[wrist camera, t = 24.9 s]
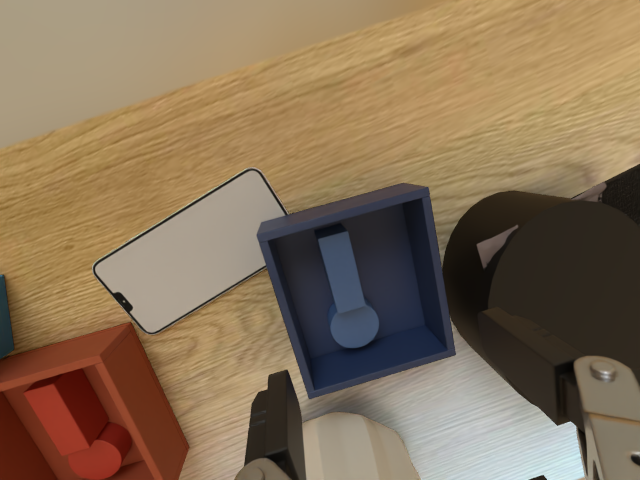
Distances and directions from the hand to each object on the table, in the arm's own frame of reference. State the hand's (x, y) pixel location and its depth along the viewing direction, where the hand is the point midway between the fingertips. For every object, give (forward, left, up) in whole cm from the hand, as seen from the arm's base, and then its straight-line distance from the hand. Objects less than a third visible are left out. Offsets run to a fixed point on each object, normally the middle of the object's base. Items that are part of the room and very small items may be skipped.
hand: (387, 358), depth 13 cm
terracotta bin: (+7, -23, -14) cm, 28 cm away
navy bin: (+2, +1, -14) cm, 14 cm away
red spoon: (+7, -23, -13) cm, 27 cm away
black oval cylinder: (+7, +16, -14) cm, 22 cm away
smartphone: (-3, -10, -14) cm, 18 cm away
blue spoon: (+2, 0, -13) cm, 13 cm away
